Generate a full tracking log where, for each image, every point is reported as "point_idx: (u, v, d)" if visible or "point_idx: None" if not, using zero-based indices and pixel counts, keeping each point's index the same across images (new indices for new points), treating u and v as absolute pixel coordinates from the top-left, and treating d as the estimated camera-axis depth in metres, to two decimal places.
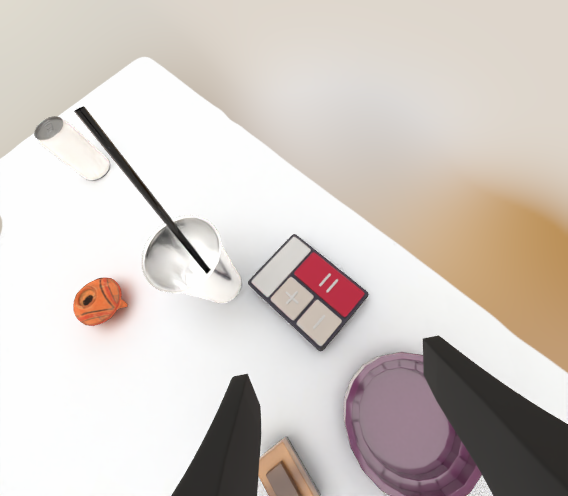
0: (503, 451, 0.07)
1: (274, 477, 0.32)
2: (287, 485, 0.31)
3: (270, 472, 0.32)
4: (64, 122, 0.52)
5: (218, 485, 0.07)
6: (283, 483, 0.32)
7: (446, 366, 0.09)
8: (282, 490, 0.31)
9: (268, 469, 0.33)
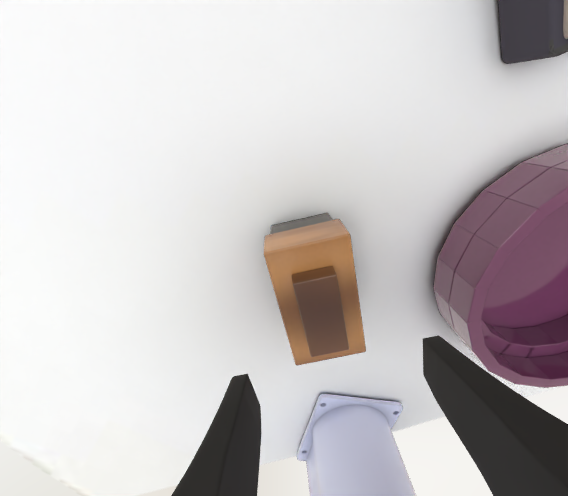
0: (503, 451, 0.07)
1: (310, 293, 0.14)
2: (332, 312, 0.14)
3: (305, 283, 0.14)
4: None
5: (218, 485, 0.07)
6: (325, 307, 0.14)
7: (446, 366, 0.09)
8: (317, 316, 0.14)
9: (295, 270, 0.14)
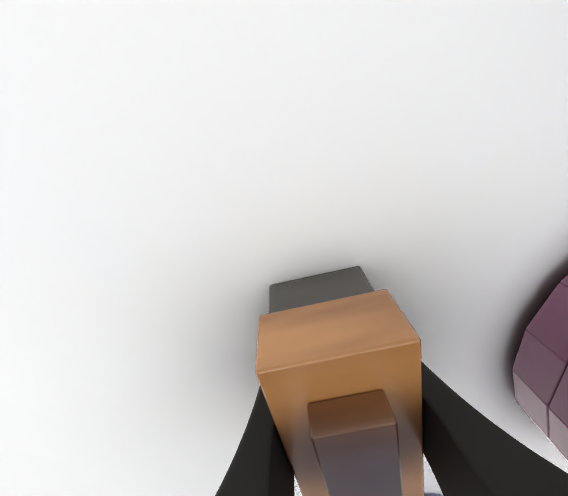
0: (450, 460, 0.07)
1: (344, 450, 0.07)
2: (382, 473, 0.08)
3: (335, 436, 0.07)
4: None
5: (268, 476, 0.07)
6: (369, 468, 0.08)
7: None
8: (354, 479, 0.08)
9: (315, 398, 0.08)
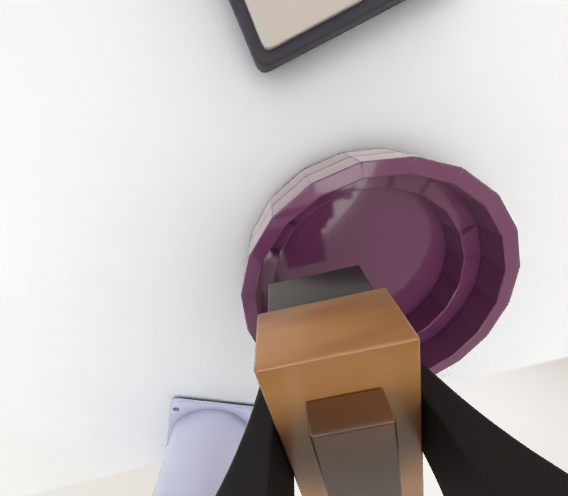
0: (450, 460, 0.07)
1: (343, 449, 0.07)
2: (382, 472, 0.08)
3: (334, 434, 0.07)
4: None
5: (268, 476, 0.07)
6: (368, 467, 0.08)
7: None
8: (353, 478, 0.08)
9: (313, 396, 0.08)
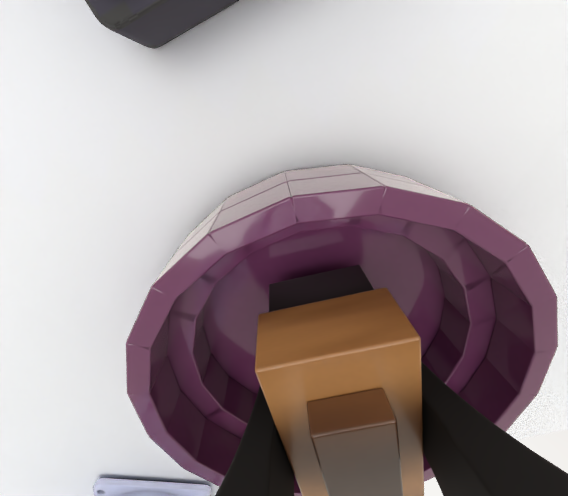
0: (450, 460, 0.07)
1: (344, 449, 0.07)
2: (382, 472, 0.08)
3: (335, 434, 0.07)
4: None
5: (268, 476, 0.07)
6: (369, 467, 0.08)
7: None
8: (354, 478, 0.08)
9: (314, 396, 0.08)
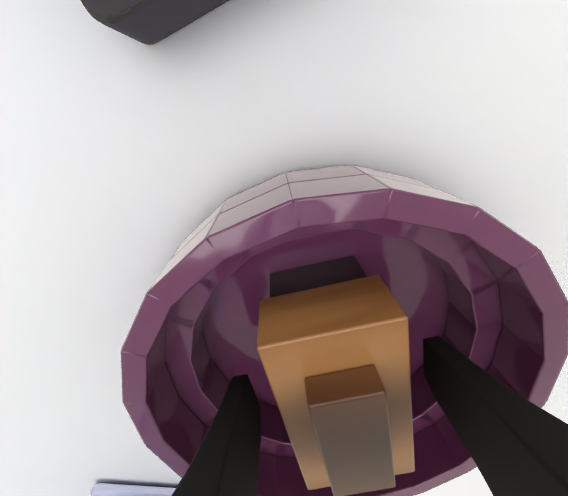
0: (503, 451, 0.07)
1: (338, 419, 0.08)
2: (373, 442, 0.08)
3: (330, 404, 0.08)
4: None
5: (218, 485, 0.07)
6: (361, 436, 0.08)
7: (446, 366, 0.09)
8: (348, 448, 0.09)
9: (311, 372, 0.08)
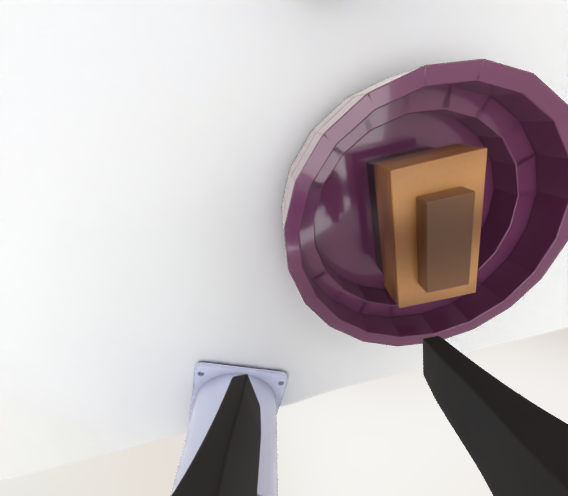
0: (503, 451, 0.07)
1: (443, 213, 0.13)
2: (461, 237, 0.13)
3: (439, 201, 0.12)
4: None
5: (218, 485, 0.07)
6: (454, 231, 0.13)
7: (446, 366, 0.09)
8: (444, 242, 0.13)
9: (421, 192, 0.13)
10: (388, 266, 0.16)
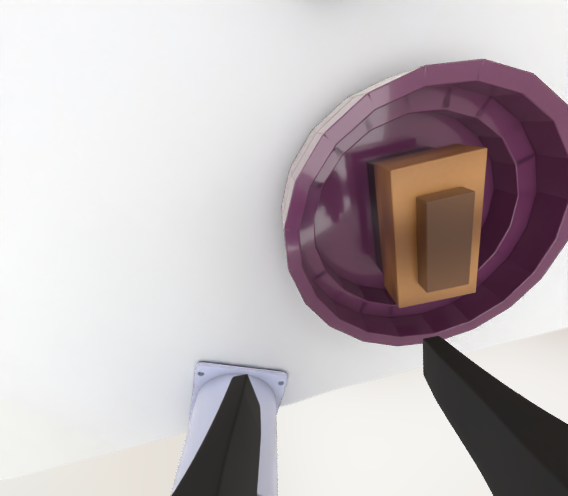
0: (503, 451, 0.07)
1: (443, 213, 0.13)
2: (461, 237, 0.13)
3: (439, 201, 0.12)
4: None
5: (218, 485, 0.07)
6: (454, 231, 0.13)
7: (446, 366, 0.09)
8: (444, 242, 0.13)
9: (421, 192, 0.13)
10: (388, 266, 0.16)
